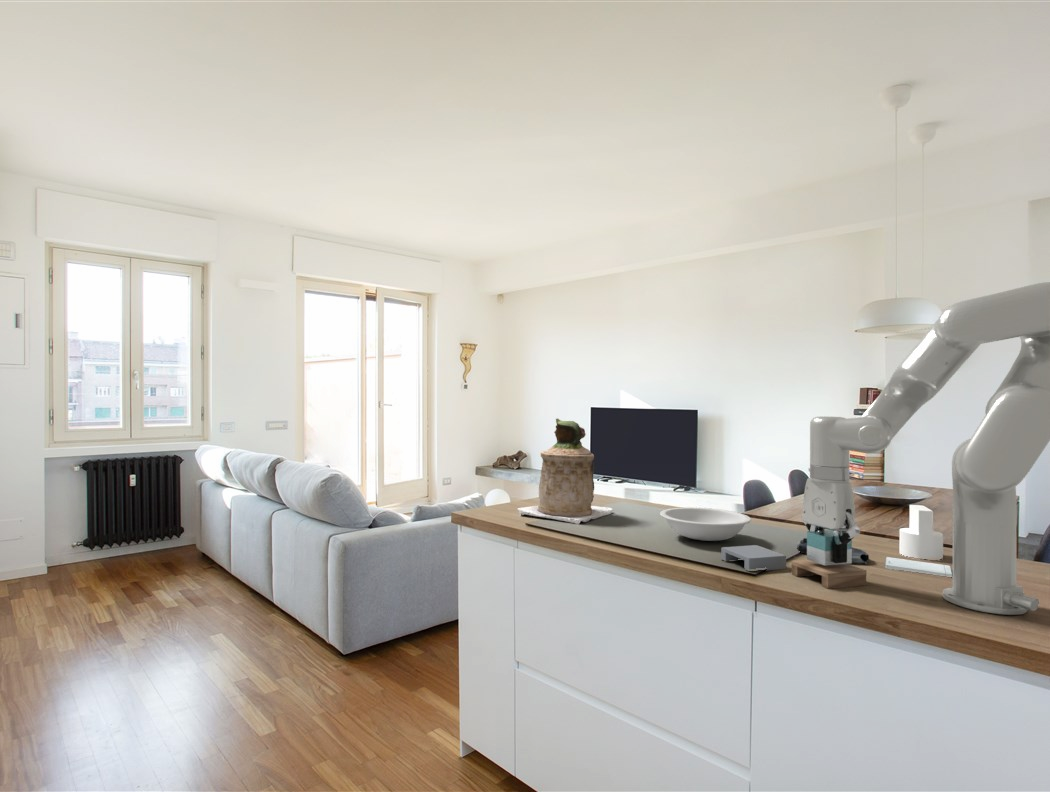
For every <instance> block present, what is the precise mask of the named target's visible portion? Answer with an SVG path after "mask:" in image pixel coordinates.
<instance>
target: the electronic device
mask: <svg viewBox="0 0 1050 792" xmlns="http://www.w3.org/2000/svg"><path fill="white" fill-rule="evenodd" d="M796 549H797V551H798V552H799V551H800V552H801V553H800V552H799V553H800V554H806V555H807V537H806V538H805V537H804V538H802V540H800V541H798V542H797V543H796ZM869 561H870V556H869V554H868V553H867V552H866V551H864V550H862V549H860V548H856V547H852V563H849V565H852V564H853V565H860V564H861V565H862V564H867V563H868V562H869Z"/></svg>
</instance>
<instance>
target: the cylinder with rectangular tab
mask: <svg viewBox="0 0 1050 792" xmlns="http://www.w3.org/2000/svg"><path fill="white" fill-rule="evenodd" d="M908 521H909V527H903V528H899V546H898V547H899V550H898V551H899V555H901V554H902V555H901V556H903V555H904V556H903V557H906V556H908V557H907V558H909V557H914V558H922V559H941V558H943V559H944V534H943V533H942V532H940V531H935V530H934V511H933V510H932V509H930V508H929V507H926V506H925V505H923V504H922V505H920V504H909V520H908ZM914 558H913V559H914Z"/></svg>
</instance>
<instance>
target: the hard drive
mask: <svg viewBox="0 0 1050 792" xmlns="http://www.w3.org/2000/svg"><path fill="white" fill-rule="evenodd" d="M885 569H887V570H892V569H894V570H893V571H899V570H904V571H903V572H906V571H911V572H910V573H912V572H919V573H926V574H933V575H940V576H947V577H952V578H953V570H952V569H951V566H950V565H948V564H947V565H946V564H941V563H935V562H934V563H932V562H926V561H920V560H919V561H918V560H910V559H903V558H897V557H896V558H895V557H889V556H886V558H885ZM919 573H918V574H919ZM926 574H925V575H926ZM933 575H932V576H933ZM940 576H939V577H940ZM947 577H946V578H947Z"/></svg>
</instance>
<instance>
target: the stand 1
mask: <svg viewBox="0 0 1050 792" xmlns="http://www.w3.org/2000/svg"><path fill="white" fill-rule="evenodd" d="M720 550H721V551H720V552H721V554H720V557H721V558H720V560H721V559H723V560H725V561H729V560H738V559H743V561H744V567H743V568H747V569H756V568H765V567H766V568H768V569H767V570H766V571H774V570H775V571H776V570H777V571H778V570H786V569H787V555H786V554H783V553H780V552H777V551H774V550H771V549H770V548H769V549H768V548H766V547H763V546H760V545H757V544H752V545H751V544H750V545H737V546H723V547H721V549H720ZM725 561H724V562H725Z"/></svg>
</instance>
